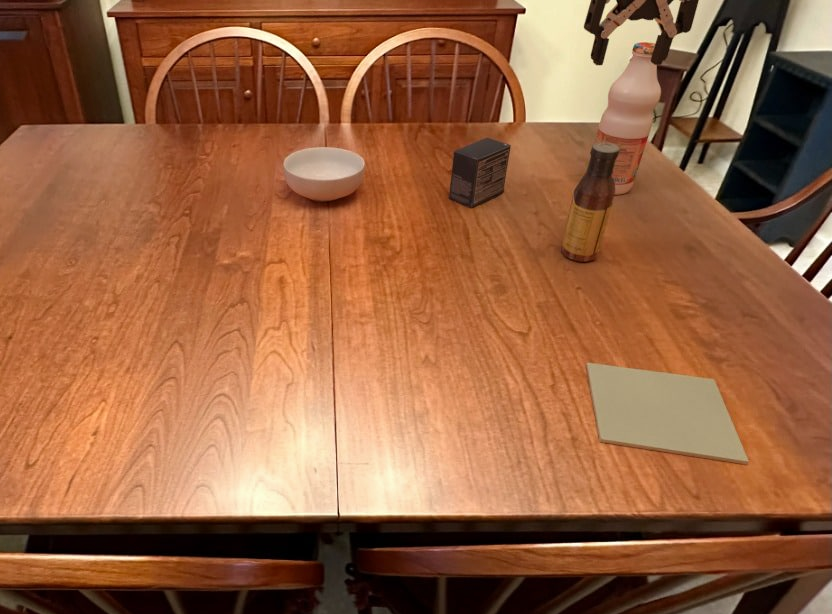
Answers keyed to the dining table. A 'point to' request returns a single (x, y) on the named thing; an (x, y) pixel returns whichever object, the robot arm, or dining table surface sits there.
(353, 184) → the cereal bowl
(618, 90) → the fruit juice
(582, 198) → the sauce bottle
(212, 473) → the dining table surface
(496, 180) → the small box
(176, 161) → the dining table surface
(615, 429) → the mat
